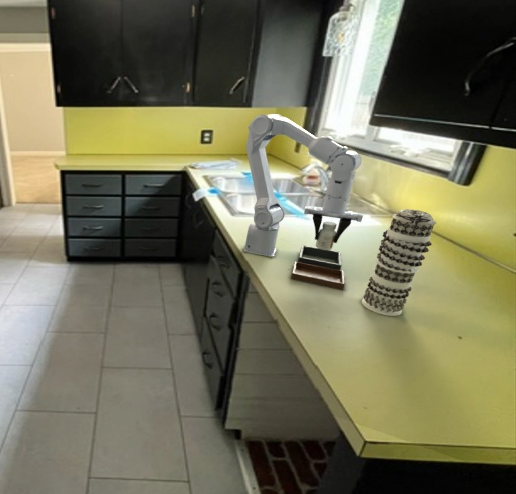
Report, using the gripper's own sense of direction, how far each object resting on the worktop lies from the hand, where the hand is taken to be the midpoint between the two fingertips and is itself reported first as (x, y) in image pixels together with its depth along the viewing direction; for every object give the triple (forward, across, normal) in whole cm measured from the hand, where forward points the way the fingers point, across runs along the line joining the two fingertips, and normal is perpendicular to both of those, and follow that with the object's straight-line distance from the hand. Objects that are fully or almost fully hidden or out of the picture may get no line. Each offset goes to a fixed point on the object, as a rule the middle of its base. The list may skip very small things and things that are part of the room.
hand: (325, 240), depth 108 cm
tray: (+9, 0, -7) cm, 12 cm away
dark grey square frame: (+9, 0, +4) cm, 10 cm away
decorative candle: (+10, +15, -17) cm, 24 cm away
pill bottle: (+3, 0, 0) cm, 3 cm away
